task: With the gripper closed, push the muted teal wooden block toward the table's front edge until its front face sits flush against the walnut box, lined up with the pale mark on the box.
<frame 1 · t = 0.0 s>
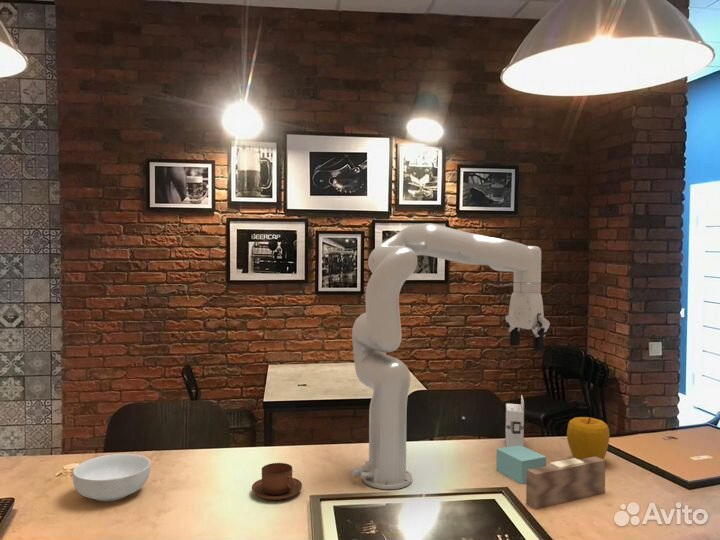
hand: (526, 348, 163), 31 cm above the table, tool pointing down, fingers open, 9 cm apart
cup and saucer: (276, 494, 136), on the table
cereal bowl: (112, 495, 134), on the table
ink box: (514, 446, 172), on the table
teal block: (520, 475, 149), on the table
apple: (587, 463, 158), on the table
walnut box: (566, 498, 134), on the table
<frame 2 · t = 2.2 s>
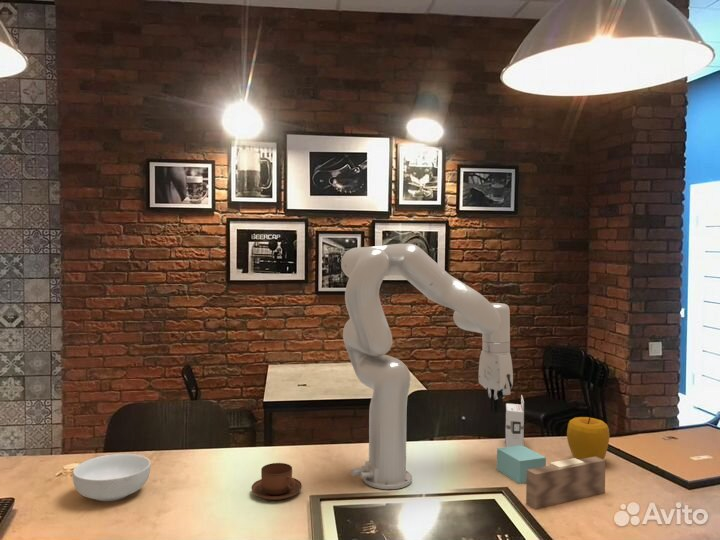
hand: (496, 411, 159), 14 cm above the table, tool pointing down, fingers closed
nothing on the table moved.
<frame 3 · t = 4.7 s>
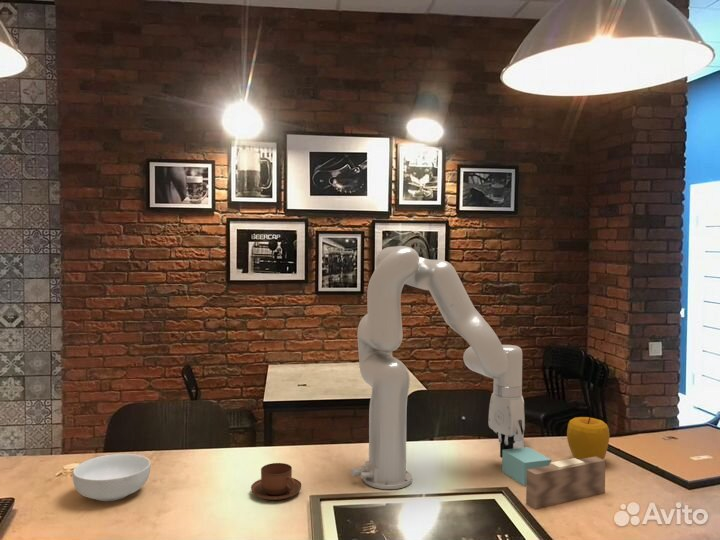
hand: (506, 457, 154), 3 cm above the table, tool pointing down, fingers closed
teal block: (525, 477, 147), on the table, touching gripper
everything else where it was.
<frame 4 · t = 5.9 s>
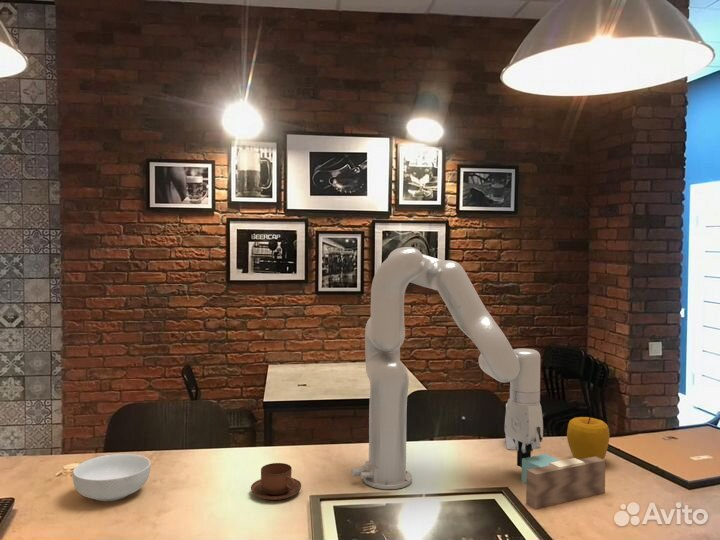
hand: (523, 465, 148), 3 cm above the table, tool pointing down, fingers closed
teal block: (547, 486, 142), on the table, touching gripper
everything else where it was.
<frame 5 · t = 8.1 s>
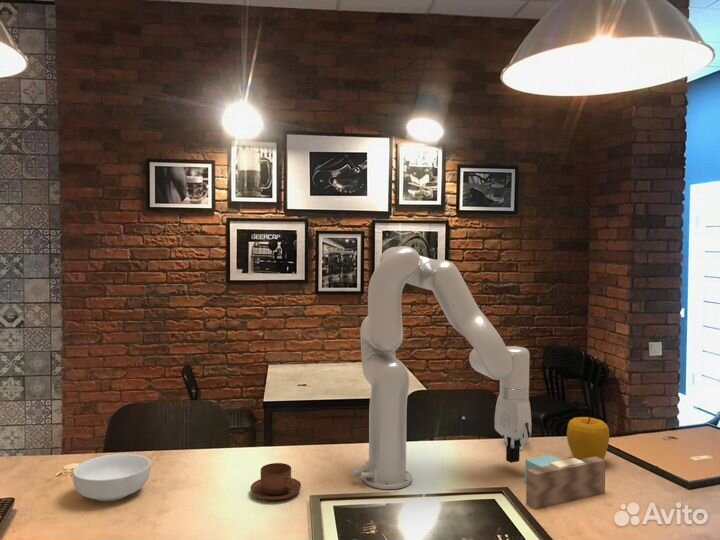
hand: (512, 460, 151), 3 cm above the table, tool pointing down, fingers closed
teal block: (551, 487, 141), on the table
everything else where it was.
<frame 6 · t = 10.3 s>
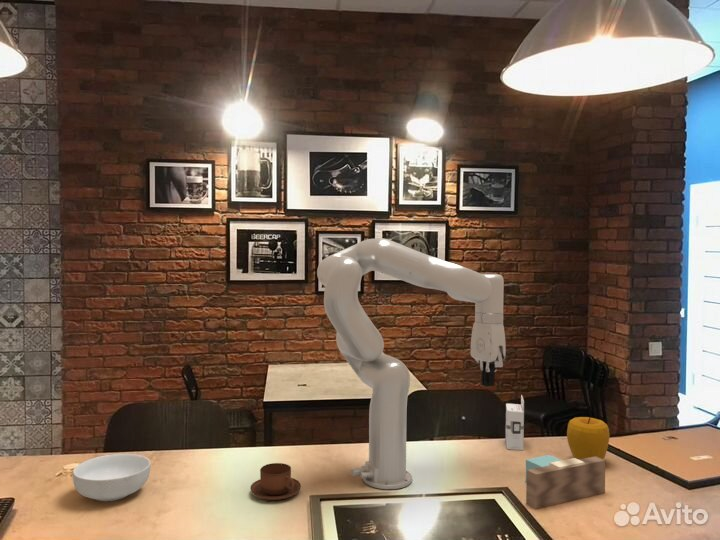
hand: (488, 385, 155), 22 cm above the table, tool pointing down, fingers closed
nothing on the table moved.
at the end: teal block 1.9 cm from the target spot on the table beside the walnut box, on the table; teal block tilted 0° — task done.
